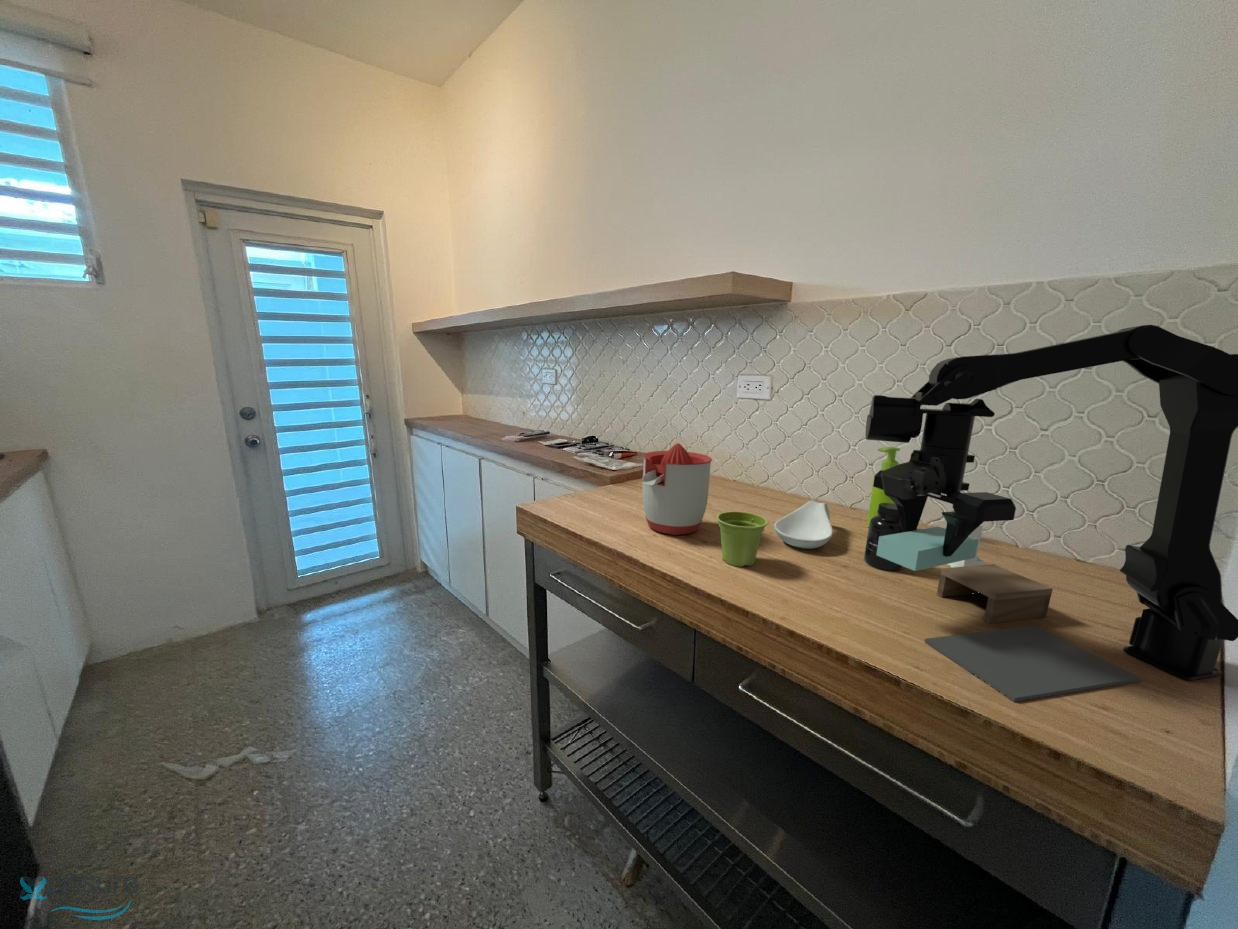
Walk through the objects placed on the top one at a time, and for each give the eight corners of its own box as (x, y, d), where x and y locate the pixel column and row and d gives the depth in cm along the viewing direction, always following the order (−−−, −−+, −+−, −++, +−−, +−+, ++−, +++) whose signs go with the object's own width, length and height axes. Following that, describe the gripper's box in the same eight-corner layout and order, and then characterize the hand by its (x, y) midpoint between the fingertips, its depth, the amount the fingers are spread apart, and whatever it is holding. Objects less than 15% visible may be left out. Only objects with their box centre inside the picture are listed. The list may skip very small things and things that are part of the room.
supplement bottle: (863, 566, 89) (872, 507, 86) (863, 555, 95) (871, 499, 92) (904, 575, 86) (915, 513, 83) (902, 562, 92) (911, 504, 89)
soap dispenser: (858, 526, 113) (869, 445, 109) (877, 523, 116) (889, 444, 112) (880, 534, 108) (893, 450, 104) (899, 530, 111) (913, 448, 107)
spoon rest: (824, 560, 92) (828, 526, 91) (765, 546, 99) (769, 514, 97) (843, 529, 111) (847, 500, 110) (793, 519, 118) (796, 492, 116)
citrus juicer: (620, 526, 107) (623, 441, 103) (670, 513, 119) (674, 436, 115) (671, 546, 96) (676, 452, 92) (720, 529, 107) (727, 445, 103)
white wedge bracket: (977, 573, 81) (971, 525, 84) (948, 578, 91) (944, 535, 93) (1000, 575, 81) (994, 527, 83) (968, 581, 90) (964, 536, 93)
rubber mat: (1140, 681, 57) (1141, 677, 57) (1013, 702, 53) (1014, 698, 53) (1035, 628, 68) (1036, 625, 68) (924, 642, 64) (924, 638, 64)
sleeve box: (1045, 616, 72) (1052, 588, 71) (990, 623, 70) (996, 594, 69) (988, 589, 81) (993, 564, 80) (936, 594, 78) (941, 568, 77)
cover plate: (975, 557, 70) (978, 539, 70) (914, 571, 65) (918, 551, 64) (935, 543, 76) (938, 526, 75) (876, 555, 70) (879, 536, 69)
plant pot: (757, 575, 84) (761, 530, 82) (707, 563, 88) (710, 520, 86) (767, 558, 92) (772, 516, 90) (721, 548, 96) (724, 508, 94)
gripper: (851, 436, 74) (838, 529, 77) (959, 458, 56) (937, 578, 59) (909, 436, 76) (894, 526, 79) (1030, 457, 58) (1005, 572, 62)
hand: (926, 547), depth 70 cm, fingers closed on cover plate, 6 cm apart
